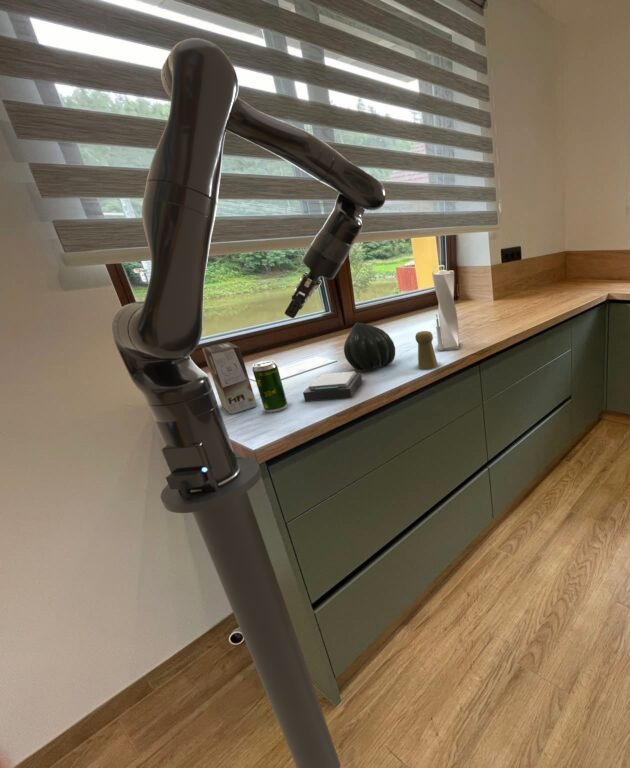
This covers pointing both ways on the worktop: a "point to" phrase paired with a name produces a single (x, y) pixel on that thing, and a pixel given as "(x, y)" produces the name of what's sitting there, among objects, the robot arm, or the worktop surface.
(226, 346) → the coffee box
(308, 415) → the worktop surface
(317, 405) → the worktop surface
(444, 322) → the skyscraper
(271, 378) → the beer can
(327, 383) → the scale
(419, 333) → the cork
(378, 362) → the squash
